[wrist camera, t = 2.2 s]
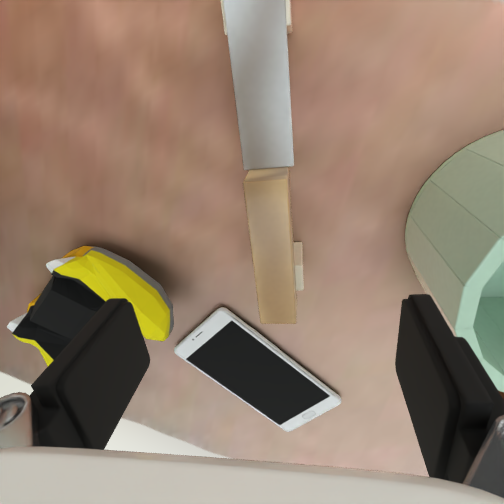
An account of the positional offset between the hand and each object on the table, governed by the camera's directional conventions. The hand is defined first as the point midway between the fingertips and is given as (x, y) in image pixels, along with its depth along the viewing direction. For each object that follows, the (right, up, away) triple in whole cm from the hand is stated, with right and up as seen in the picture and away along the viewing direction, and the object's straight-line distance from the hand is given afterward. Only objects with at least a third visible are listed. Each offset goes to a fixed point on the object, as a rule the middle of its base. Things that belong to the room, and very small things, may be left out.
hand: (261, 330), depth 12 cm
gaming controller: (-13, -2, +19) cm, 23 cm away
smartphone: (0, -8, +20) cm, 22 cm away
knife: (+1, +7, +8) cm, 10 cm away
